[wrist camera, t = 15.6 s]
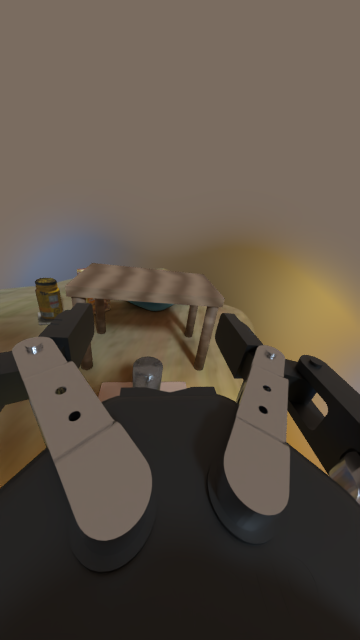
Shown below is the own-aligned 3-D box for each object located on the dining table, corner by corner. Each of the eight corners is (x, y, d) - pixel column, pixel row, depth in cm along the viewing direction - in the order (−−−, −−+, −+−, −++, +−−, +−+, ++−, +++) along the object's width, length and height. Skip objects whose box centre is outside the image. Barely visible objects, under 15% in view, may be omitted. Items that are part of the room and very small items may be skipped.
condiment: (63, 310, 66) (58, 276, 60) (67, 321, 60) (61, 285, 54) (37, 313, 62) (29, 277, 56) (39, 325, 56) (29, 286, 50)
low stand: (78, 370, 43) (64, 285, 33) (97, 328, 58) (92, 263, 49) (205, 371, 48) (224, 298, 39) (192, 333, 64) (203, 274, 54)
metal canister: (130, 428, 32) (131, 377, 27) (132, 405, 36) (134, 356, 31) (157, 427, 33) (163, 377, 28) (156, 404, 37) (161, 356, 31)
